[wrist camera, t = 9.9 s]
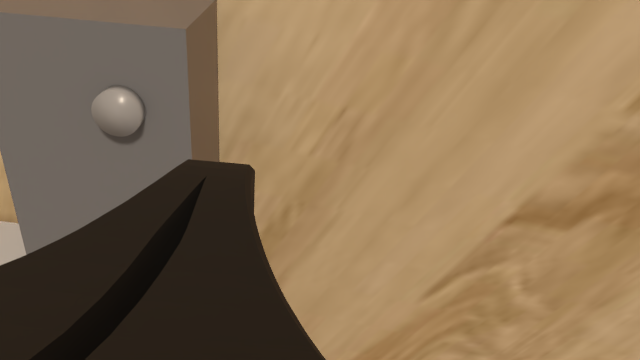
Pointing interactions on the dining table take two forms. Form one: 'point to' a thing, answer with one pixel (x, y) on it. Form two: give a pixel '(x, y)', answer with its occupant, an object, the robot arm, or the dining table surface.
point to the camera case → (101, 103)
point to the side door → (10, 242)
